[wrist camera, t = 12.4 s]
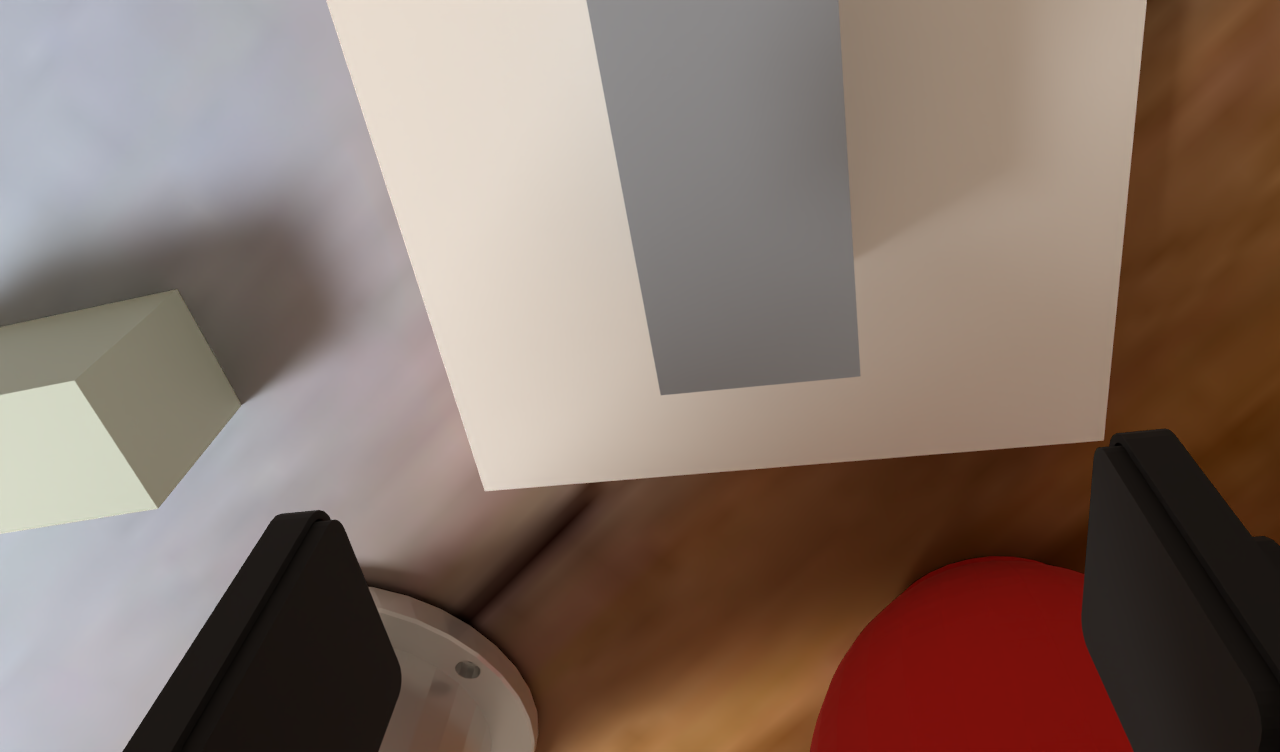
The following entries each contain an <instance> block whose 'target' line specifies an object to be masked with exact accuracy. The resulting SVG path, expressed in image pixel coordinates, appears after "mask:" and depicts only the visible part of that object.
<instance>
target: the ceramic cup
mask: <svg viewBox="0 0 1280 752" xmlns="http://www.w3.org/2000/svg"><path fill="white" fill-rule="evenodd" d="M1084 575H1085V574H1082V573H1079V572H1077V571H1073V570H1070V569H1067V568H1062V567H1057V566H1051V565H1047V564H1044V563H1041V562H1038V561H1035V560H1030V559H1024V558H1018V557H1006V556H989V557H981V558H973V559H967V560H964V561H960V562H956V563H953V564H949V565H946V566H944V567H942V568H940V569H937V570H935V571H933V572H930V573H928V574H927V575H925V576H924V577H922V578H921V579H919V580H917V581H916V582H914V583H913V584H912V585H911V586H909V587H908V588H907V589H906V590H905V591H904V592H903V593H902V594H901V595H900V596H898V597H897V598H896V599H895V600H893V601H892V602H891V603H890V604H889V605H888V606H887V607H886V608H885V609H884V610H883V611H881V612H880V613H879V614H878V615H877V616H876V617H875V618H874V619H873V620H872V621H871V622H870V623H869V624H868V625H867V626H866V627H865V628H864V630H863V631H862V632H861V633H860V635H859V636H858V637H857V639H856V640H855V642H854V643H853V645H852V646H851V648H850V649H849V650H848V652H847V653H846V655H845V656H844V658H843V660H842V661H841V663H840V664H839V666H838V668H837V670H836V672H835V674H834V676H833V678H832V681H831V683H830V686H829V689H828V691H827V694H826V697H825V699H824V702H823V705H822V708H821V710H820V713H819V716H818V719H817V722H816V726H815V730H814V734H813V738H812V744H811V749H810V752H1134V751H1133V749H1132V747H1131V744H1130V742H1129V740H1128V738H1127V736H1126V733H1125V731H1124V729H1123V727H1122V724H1121V722H1120V720H1119V718H1118V716H1117V713H1116V711H1115V709H1114V707H1113V705H1112V702H1111V700H1110V698H1109V696H1108V694H1107V691H1106V689H1105V687H1104V685H1103V682H1102V680H1101V678H1100V676H1099V674H1098V671H1097V669H1096V667H1095V665H1094V663H1093V660H1092V658H1091V656H1090V654H1089V651H1088V649H1087V646H1086V644H1085V640H1084V636H1083V631H1082V623H1081V613H1082V600H1083V587H1084Z"/></svg>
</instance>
